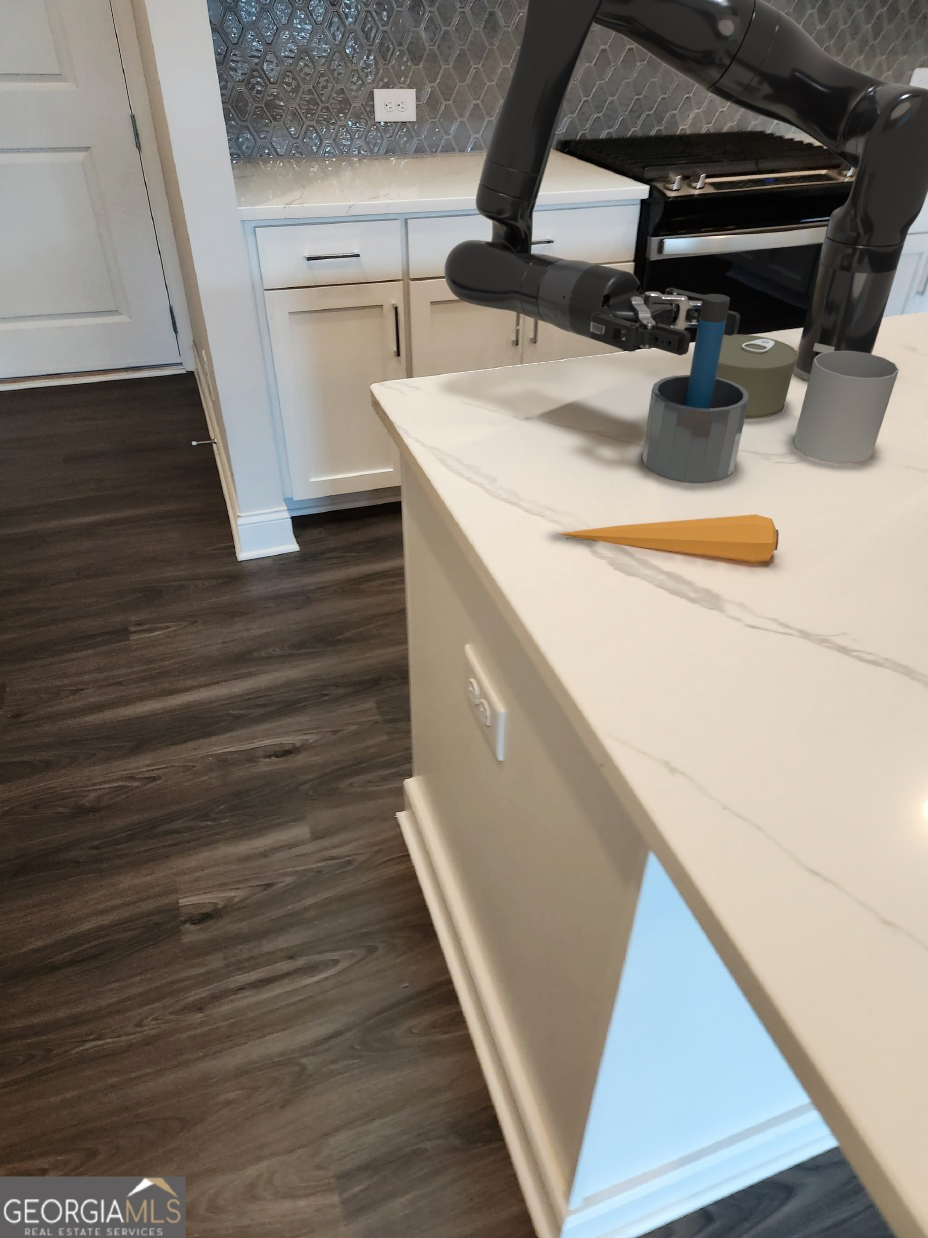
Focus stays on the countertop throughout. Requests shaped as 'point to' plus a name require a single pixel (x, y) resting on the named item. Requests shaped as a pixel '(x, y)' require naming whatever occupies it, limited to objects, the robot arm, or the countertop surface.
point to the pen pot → (694, 431)
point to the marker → (707, 350)
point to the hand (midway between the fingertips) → (713, 334)
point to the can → (758, 371)
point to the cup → (844, 406)
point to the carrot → (697, 536)
